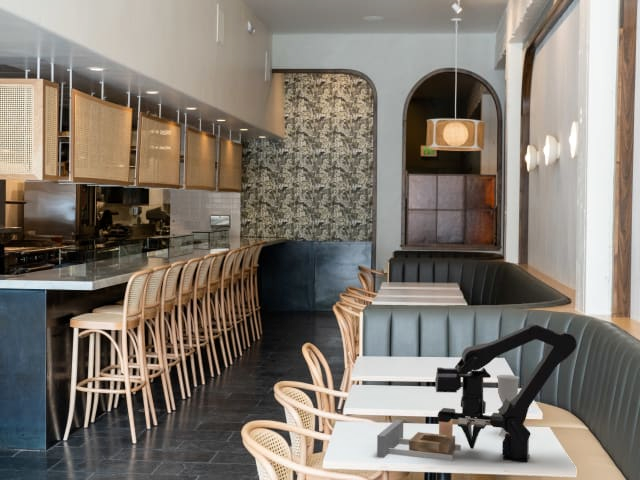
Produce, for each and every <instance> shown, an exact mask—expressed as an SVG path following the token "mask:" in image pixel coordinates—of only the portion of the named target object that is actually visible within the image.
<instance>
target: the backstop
mask: <svg viewBox="0 0 640 480" xmlns="http://www.w3.org/2000/svg"><path fill="white" fill-rule="evenodd" d="M376 437H377V438H376V439H377V442H376V444H377V445H376V446H377V447H376V452H377V453H376V457H377V458H385V457H386V456H388V454H389V455H398V456H406V457H414V458H424V459H432V460H439V461H447V462H449V461H450V462H453V460H454V458H453V457H454V456H453V455H452V454H451V455H446V454H438V453H429V452H420V451H411V450H409V449H402V448H401V449H400V448H396V447H397V446H398V445H399V444H401V445H408V446H409V440H410V439H411V438H410V439H409V438H404V419H395V420H394V421H393V422H392V423H391V424H390V425H388V426H387V427H386V428H385V429H383V430H382V431H381V432H380V433H378V434H377V436H376ZM461 450H462V445H461V444H456V443H455V451H461Z"/></svg>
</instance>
